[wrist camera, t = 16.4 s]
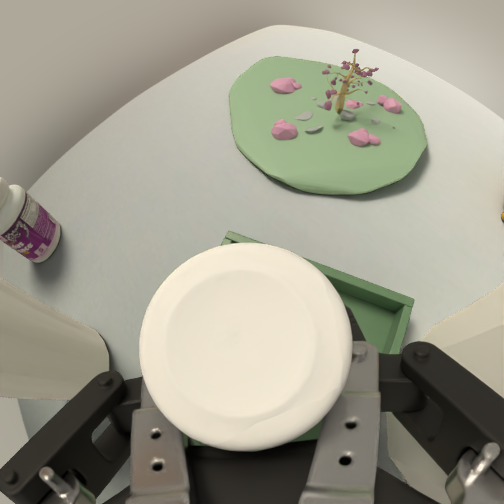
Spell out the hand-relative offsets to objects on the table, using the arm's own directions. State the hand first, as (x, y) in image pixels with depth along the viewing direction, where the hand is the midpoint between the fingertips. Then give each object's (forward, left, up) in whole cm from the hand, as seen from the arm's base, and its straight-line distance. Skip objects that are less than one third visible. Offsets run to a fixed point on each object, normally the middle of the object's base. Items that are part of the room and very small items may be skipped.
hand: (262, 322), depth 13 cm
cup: (-9, +13, -8) cm, 18 cm away
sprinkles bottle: (-2, -1, -7) cm, 7 cm away
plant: (+24, +5, -8) cm, 25 cm away
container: (0, -16, -8) cm, 18 cm away
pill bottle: (-1, +26, -8) cm, 27 cm away
